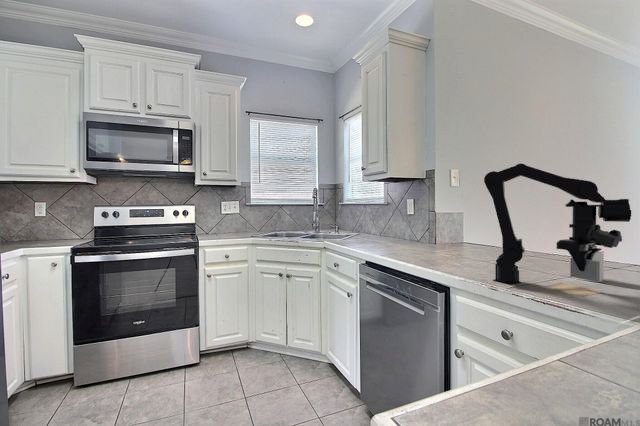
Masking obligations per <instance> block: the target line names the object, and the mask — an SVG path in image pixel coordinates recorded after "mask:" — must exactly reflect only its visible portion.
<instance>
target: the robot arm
mask: <svg viewBox="0 0 640 426" xmlns="http://www.w3.org/2000/svg"><path fill="white" fill-rule="evenodd" d="M518 177H523V178H527V179H530V180H533V181H536V182H539V183H541V184H544V185H547V186H551V187H554V188H557V189H559V190H561V191H563V192H565V193H566V194H569V195H570V196H573V197H574V198H576V199H577V200H578V199H579V200H585V201H575V200H574V199H573V198H572V199H570V200H569V201H568V202H567V203H565V204H564V206H565V207H567V208H572V223H569V224H568V225H569V228H572V229H571V230H572V231H571V232H572V234H571V235H572V236H568V239H559V240H558V241H557V242H556V247H555V248H556V249H557V250H564V251H567V252H568V253H569V255H570V256H571V258H573V260H574V261H575V263H576V265H577V267H578V269H579V270H580V271H584V270H585V265H586V259H587V260H592V258H593V256H594V254H595V253H597V252H598V251H600V250H603V248H599V247H598V246H602V247H604V248H610V249H612V248H617V247H618V245H619V243H620V242H623V239H622V238H623V236H622V234H621V231H620V230H617V229H612V230H610V231H607V230H602V229H601V225H600V224H597V216H598V219H602V221H603V222H615V223H616V222H617V223H618V222H619V223H620V222H621V223H625V222H627V223H629V222H630V221H631V218H632V210H631V205H630V199H629V198H620V199H619V198H618V199H605V197H604V196H602V195H601V194H600V192H599V188H598V186H597V184H596V183H595V182H593V181H591V180H585V179H579V178H570V177H563V176H561V175H557V174H554V173H551V172H548V171H545V170H542V169H539V168H535V167H532V166H530V165H526V164H525V163H517V164H515V165H513V166H511V167H508V168H505V169H502V170H500V171H489V172H488V173H486V174H485V176H484V177H483V182H484V184H485V187H486V189H487V191H488V193H489V194H490V196H491V198H492V201H493V205H494V208H495V214H496V217H497V221H498V225H499V228H500V233H501V236H502V238H501V240H502V253H501V254H500V255H499V256H497V258H496V260H495V262H496V263H495V265H494V266H495V271H494V272H495V274H494V276H495V278H494V279H492V281H493V282H495V283H496V282H497V283H501V284H503V285H504V284H505V285H509V286H510V285H515V284H516V285H517V284H520V283H521V281H520V271H519V267H518V265H516V263H519V262H520V261H521V260H522V259H523V254H524V253H525V251H526V249H525V247H524V246H523V238H518V237H517V236H516V234H515V231H514V227H513V223H512V220H511V216H510V211H509V208H508V202H507V199H506V197H505V196H506V195H505V191H506V190H505V182H509V181H512V180H513V179H516V178H518ZM588 201H589V202H591V203H597V204H588ZM598 203H599V204H598ZM597 208H598V210H597Z"/></svg>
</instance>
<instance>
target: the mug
mask: <svg viewBox="0 0 640 426" xmlns="http://www.w3.org/2000/svg"><path fill="white" fill-rule="evenodd" d="M604 252H605V251H604V250H603V249H602V250H600V251H598V252H597V253H595V254H594V256H593V258H592V260H595V261H600V279H599V281H592V280H587V279H581V278H576V277H572V278H573V279H574V280H575V279H576V280H581V281H585V282H593V283H601V282H603V281H604V279H605V278H604V276H605V275H604V271H605V268H604V263H605V260H604V259H605V257H604V256H605V253H604Z"/></svg>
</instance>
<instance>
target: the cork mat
mask: <svg viewBox="0 0 640 426" xmlns="http://www.w3.org/2000/svg"><path fill="white" fill-rule="evenodd" d="M541 288H543V289H547V290H550V291H551V290H552V291H555V292H561V293H564V294H565V293H566V294H569V295H574V296H579V297H582V298H585V297H589V296H592V295H596V294H600V293H604V290H598V289H594V288H590V287H589V288H588V287H582V286H578V285H573V284H568V283H563V282H556V283H553V284H548V285H543V286H541Z"/></svg>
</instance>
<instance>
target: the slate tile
mask: <svg viewBox="0 0 640 426" xmlns="http://www.w3.org/2000/svg"><path fill="white" fill-rule="evenodd" d="M569 272H570V274H569V275H570V277H571V278H573V277H576V278H581V279H587V280H592V281H591V282H593V281H599V279H600V261H595V260H587V259H586V265H585V270H584V271H580V270H579V269H578V267H577V265H576V263H575V261H574V260H573V258H572V257H570V271H569Z"/></svg>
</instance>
